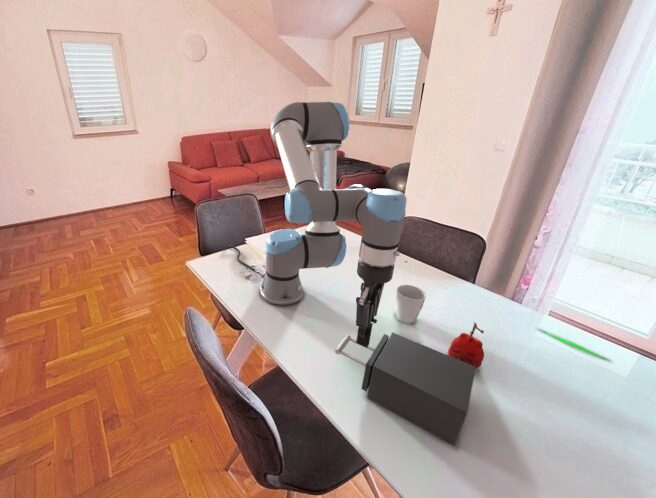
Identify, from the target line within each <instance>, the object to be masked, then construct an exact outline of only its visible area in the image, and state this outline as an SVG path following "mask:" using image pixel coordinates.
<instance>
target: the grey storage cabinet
mask: <svg viewBox="0 0 656 498" xmlns="http://www.w3.org/2000/svg"><path fill="white" fill-rule="evenodd" d="M475 369H476V367H475V366H472V365H470V364H468V363H465V362H463V361H460V360H458V359H456V358H453V357H451V356H448V354H445V353H444V352H441V351H439V350H436V349H434V348H432V347H429V346H427V345H424V344H422V343H420V342H417V341H414V340H412V339H411V338H407V337H405V336H403V335H400V334H398V333H395V332H391V334H390V335H389V338H388V341H387V343H386V344H385V346H384V348H383V350H382V351H381V353H380V355H379V357H378V358H377V360H376V362H375V364H374V365H373V369H372V374H371V380H370V385H369V388H368V389H367V395H366V398H367V399H369V400H370V401H372V402H374V403H376V404H378V405H379V406H381V407H383V408H385V409H386V410H388V411H390V412H392V413H393V414H396V415H397V416H399V417H401V418H403V419H405V420H407V421H408V422H410V423H412V424H413V425H415V426H417V427H419V428H421V429H422V430H424V431H426V432H428V433H430V434H432V435H433V436H435V437H437V438H439V439H440V440H442V441H444V442H445V443H447V444H449V445H451V446H452V447H455V445H456V443H457V440H458V437H459V435H460V433H461V430H462V427H463V424H464V423H465V420H466V417H467V414H468V411H469V406H470V401H471V397H472V389H473V385H474V379H475V375H476V370H477V369H476V370H475Z"/></svg>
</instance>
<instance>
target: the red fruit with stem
mask: <svg viewBox="0 0 656 498" xmlns="http://www.w3.org/2000/svg"><path fill="white" fill-rule="evenodd" d="M475 330H476V331H477V330H478V331H479V332H480V333H481V334H484V333H485V330H483V329H480V328H479V327H478V325H477V322H475V321H473V326H472V330H470V332H469V333H466V332H462V333H460V334H459V335H458V336H457V337H455V338H454V339H453V340H452V341H451V343H450V345H449V347H448V349H447V355H448V356H451V357H453V358H456V359H458V360H460V361H463V362H465V363H468V364H470V365H472V366H475V367H476V369H475V371H476V370H477V369H479V368H481V366H482V364H483V361H484V358H485V352H484V348H483V342H482V341H481V340H480V339H478V338H476V337H475V336H473V335H474V334H475Z"/></svg>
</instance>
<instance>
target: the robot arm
mask: <svg viewBox="0 0 656 498" xmlns="http://www.w3.org/2000/svg"><path fill="white" fill-rule="evenodd" d="M349 132H350V117H349V113H348V110H347V108H346V107H345V105H344V104H342V103H341V102H333V101H311V102H307V101H306V102H304V101H303V102H301V101H296V102H292V103H289V104H287V105H285V106H284V107H282V108H281V109H280V110H279V111H278V112H277V113H276V114H275V116H274V118H273V119H272V122H271V125H270V137H271V140H272V144H273V145H274V146H275V147H277V150H278V154H279V157H280V161H281V164H282V167H283V172H284V175H285V178H286V183H287V186H288V189H289V191H287V193H285V195H284V215H285V218H286V220H287V221H288V222H289V223H291V224H308V225H307V226H306V227H305V228H304V234H301V232H300V231H299V230H297V229H291V228H284V229H279V230H278V229H277V230H275V231H273V232H272V233H270V234H269V235H268V237H267V238H266V240H265V241H266V242H265V249H264V250H265V273H263V274H264V275H263V276H262V277H263V279H262V282H261V285H260V296H261V298H262V299H263V300H264V301H266V302H267V303H269V304H272V305H276V306H291V305H294V304H296V303H298V302H299V301H301V300H302V298H303V295H304V287H303V284H302V282H301V277H300V270H304V269H317V268H318V269H320V268H325V269H326V268H327V269H328V268H333V267H334V268H335V267H338V266H340V265H341V264H342V263H343V261H344V259H345V257H346V253H347V242H346V236H345V235H344V233H343V232H341V228H340V227H339V226H338V225H337V224H336V223H337V222H352V221H353V222H358V223H359V225H361V226H362V233H361V240H360V246H359V251H358V252H359V253H358V256H359V258H358V260H357V268H356V274H357V276H358V277H359V278H360V279H361V280H362V282H361V284H360V296H356V298H355V304H356V313H355V314H356V316H355V326H356V327H358V328H357V335H356V340H357V341H356V343H357V345H358V344H359V346H361V347H363V348H365V347H366V348H365V349H367V347H368V346H370V341H371V335H372V331H373V324H377V323H378V319H376V317H377V315H378V310H379V307H380V304H381V303H380V302H381V298H382V296H383V295H382V294H383V291H384V286H385V284H387V283H389V282H391V280H392V279H393V276H394V271H395V263H396V259H397V257H399V256H400V255H401V253H400V252H401V251H398V248H399V244H400V241H401V240H400V239H401V235H402V231H403V226H404V222H405V221H404V220H405V217H406V207H407V201H408V199H407V196H406V194H404V193H403V192H402V191H399V190H395V189H390V188H376V189H371V188H370V187H367V186H366V185H362V184H351V185H349V186H348V187H346V188H340V189H337V161H338V160H337V159H338V158H337V157H338V155H337V152H338V150H339V149H340V148H341V147H342V145H343V144H342V143H343V141H345V140H346V139H347V137H348V136H349ZM226 248H227V249H229V248H232V249H234V250H235V251H237V253H238V254H237V256H236V261H237V262H238V263H239V264H241V265H242V266H244V267H246V268H248V269H250V270H251V271H253V270H257V269H256V268H254V267H252V266H250V265H249V264H247V263H245V262H244V261H242V260H240V256H241V250H240V249H239V248H238V247H236V246H234V245H231V244H230V245H227V247H226ZM251 267H252V268H251ZM356 343H355V344H356Z"/></svg>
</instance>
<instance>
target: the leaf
mask: <svg viewBox="0 0 656 498" xmlns="http://www.w3.org/2000/svg"><path fill="white" fill-rule="evenodd" d="M544 334H546V335H549V336H550V337H553V338H555V339H557V340H559V341H561V342H563V343H565V344H568V345H570V346H572V347H574V348H577V349H578V350H579V349H580V350H582V351H584V352H586V353H588V354H591V355H594V356H596V357H599V358H600V359H603V360H605V361H606V360H608V359H606V358H604V357H602V356H601V355H598V354H597V353H595V352H592V351H591V350H588V349H587V348H585V347H583V346H580V345H578V344H576V343H574V342H571V341H569V340H567V339H564V338H561V337H558V336H556V335H554V334H551V333H548V332H546V331H544Z"/></svg>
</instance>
